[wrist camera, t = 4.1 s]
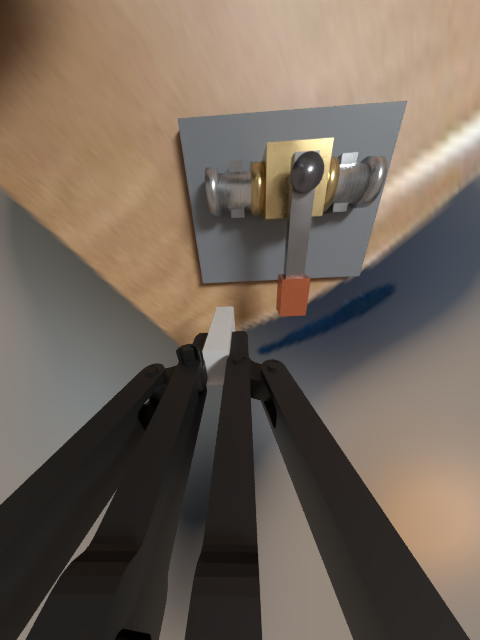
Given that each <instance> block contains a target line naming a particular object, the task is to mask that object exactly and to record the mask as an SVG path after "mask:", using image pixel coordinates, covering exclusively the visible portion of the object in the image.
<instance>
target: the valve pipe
mask: <svg viewBox="0 0 480 640" xmlns="http://www.w3.org/2000/svg"><path fill="white" fill-rule="evenodd" d="M333 141H334V138H322V139H308V140H294V141H280V142H267V144H266V147H265V151H264V154H263V158H262V161H256V162H250V171H243V160H239V161H228V172H223V173H219V172H218V168H217V167H206V168H205V187H206V195H207V202H208V207H209V211H210V214H211V216H212V217H217V216H222V211H231V218H232V219H244V218H245V214H244V210H250V214H251V216H261V221H271V220H287V214H288V199H289V189H288V185H287V180H288V177H289V174H290V170H291V157H292V156H293V154H294V153H295V152H302V151H317V150H320V156H321V157H322V159H323V162H324V174H323V177H322V180H321V181H320V183H319V184H318V186H317V187H316V188H315V194H314V202H313V210H312V217H318V216H322V215H323V212H324V214H330V213H340V212H346V211H347V206H348V204H349V206H350V207H351V208H365V207H368V206H369V205H371V204H372V203H373V202H374V200H375V199H376V198H377V196H378V195H379V193H380V191H381V189H382V187H383V185H384V182H385V179H386V175H387V160H386V158H385V157H384V156H381V155H380V156H368V157H366V158H364V159H363V160H362V161H361V162H360V163H356V162H357V157H358V152H354V153H342V154H341V155H340V156H338V157H336V156H331V154H332V148H333Z"/></svg>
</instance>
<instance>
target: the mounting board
mask: <svg viewBox="0 0 480 640" xmlns="http://www.w3.org/2000/svg"><path fill="white" fill-rule="evenodd" d="M406 104H407V101H397V102H384V103H372V104H359V105H346V106H333V107H320V108H307V109H294V110H282V111H269V112H256V113H243V114H230V115H217V116H205V117H192V118H179V119H178V125H179V131H180V138H181V144H182V151H183V157H184V163H185V170H186V176H187V183H188V189H189V196H190V202H191V209H192V215H193V222H194V228H195V235H196V241H197V248H198V254H199V261H200V267H201V274H202V280H203V283H221V282H242V281H263V280H278V274H283V273H284V259H285V244H286V229H287V220H271V221H261V216H251V214H250V210H244V214H245V218H244V219H232V218H231V211H222V216H217V217H212V216H211V214H210V211H209V207H208V202H207V195H206V187H205V168H206V167H217V168H218V172H219V173H223V172H228V161H239V160H243V171H250V162H256V161H262V158H263V154H264V151H265V147H266V144H267V142H280V141H294V140H308V139H322V138H334V141H333V148H332V154H331V156H336V157H338V156H340V155H341V154H342V153H354V152H358V157H357V162H356V163H360V162H361V161H362V160H363V159H364V158H366V157H368V156H380V155H381V156H384V157H385V158H386V160H387V173H388V170H389V166H390V162H391V159H392V155H393V152H394V148H395V144H396V141H397V137H398V133H399V130H400V126H401V122H402V119H403V115H404V111H405V108H406ZM386 177H387V175H386ZM385 181H386V179H385ZM384 184H385V182H384ZM383 188H384V185H383V187H382V189H381V191H380V193H379V195H378V196H377V198H376V199H375V200H374V202H373V203H372V204H371V205H369V206H368V207H365V208H351V207H350V206H349V204H348V206H347V211H346V212H340V213H330V214H324V212H323V215H322V216H318V217H312V218H311V226H310V234H309V242H308V250H307V258H306V266H305V275H307V276H308V277H310V278H326V277H347V276H359V275H360V272H361V268H362V264H363V261H364V257H365V254H366V250H367V246H368V243H369V239H370V235H371V232H372V228H373V224H374V221H375V217H376V213H377V210H378V206H379V203H380V199H381V195H382V192H383Z"/></svg>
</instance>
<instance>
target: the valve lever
mask: <svg viewBox="0 0 480 640" xmlns="http://www.w3.org/2000/svg"><path fill="white" fill-rule="evenodd" d="M323 174H324V162H323V159H322V157H321V156H320V150H317V151H302V152H295V153H294V154H293V156H292V157H291V170H290V174H289V177H288V180H287V185H288V189H289V199H288V214H287V229H286V244H285V259H284V273H283V274H278V285H277V304H276V309H277V311H278V313H279V315H280V316H299V315H306V308H307V301H308V294H309V287H310V280H311V278H310V277H308V276H307V275H305V266H306V258H307V250H308V242H309V234H310V226H311V218H312V210H313V202H314V194H315V188H316V187H317V186H318V184H319V183H320V181H321V180H322V177H323Z"/></svg>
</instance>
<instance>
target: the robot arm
mask: <svg viewBox="0 0 480 640" xmlns="http://www.w3.org/2000/svg"><path fill="white" fill-rule="evenodd" d="M176 353H177V357H178V360H179V363H178V365H177V366H174V367H170V368H166V369H165V368H164V366H163V365H162V364H152V365H149V366H147V367H145V368H144V369H143V370H142V371H141V372H139V374H137V375H136V376H135V377H134V378H133V379H132V380H131V381H130V382H129V383H128V384H127V385H126V386H125V387H124V388H123V389H122V390H121V391H120V392H118V393H117V394H116V395H115V396H114V398H112V399H111V400H110V401H109V402H108V403H107V404H106V405H105V406H104V407H103V408H102V409H101V410H100V411H99V412H98V413H97V414H95V416H93V417H92V418H91V419H90V420H89V421H88V422H87V423H86V424H85V425H84V426H83V427H82V428H81V429H80V430H79V431H78V432H77V433H75V434H74V435H73V436H72V437H71V438H70V439H69V440H68V441H67V442H66V443H65V444H64V445H63V446H62V447H61V448H60V449H59V450H58V451H57V452H56V453H54V455H52V456H51V457H50V458H49V459H48V460H47V461H46V462H45V463H44V464H43V465H42V466H41V467H40V468H39V469H38V470H37V471H36V472H34V474H33V475H31V476H30V477H29V478H28V479H27V480H26V481H25V482H24V483H23V484H22V485H21V486H20V487H19V488H18V489H17V490H16V491H15V492H14V493H12V495H11V496H9V497H8V498H7V499H6V500H5V501H4V502H3V503H2V504H1V505H0V640H17V638H18V637H19V635H20V634H21V632H22V631H23V629H24V628H25V626H26V625H27V623H28V622H29V620H30V619H31V617H32V616H33V614H34V612H35V611H36V610H37V608H38V607H39V605H40V604H41V602H42V601H43V599H44V598H45V596H46V595H47V593H48V592H49V590H50V589H51V587H52V586H53V584H54V583H55V581H56V580H57V578H58V576H59V575H60V574H61V572H62V571H63V569H64V568H65V566H66V565H67V563H68V562H69V560H70V558H71V557H72V556H73V554H74V553H75V551H76V550H77V548H78V547H79V545H80V543H81V542H82V540H83V539H84V538H85V536H86V535H87V533H88V532H89V530H90V528H91V527H92V526H93V524H94V522H95V521H96V520H97V518H98V517H99V515H100V514H101V512H102V510H103V509H104V507H105V506H106V505H107V503H108V501H109V500H110V499H111V497H112V496H113V494H114V493H115V491H116V490H117V491H116V493H115V495H114V497H113V499H112V501H111V503H110V505H109V507H108V509H107V511H106V514H105V515H104V517H103V519H102V522H101V524H100V526H99V528H98V530H97V532H96V534H95V536H94V538H93V539H92V541H91V543H90V545H89V546H88V547H87V549H86V550H85V551H84V552H83V553H82V554H80V555H79V556H78V557H77V558H76V559H74V560H73V561H72V562H71V563H70V565H69V566H68V567H67V569H66V570H65V571H64V572H63V574H62V575H61V576H60V578H59V579H58V581H57V583H56V584H55V586H54V588H53V589H52V591H51V593H50V595H49V596H48V599H47V600H46V602H45V604H44V606H43V608H42V610H41V611H40V613H39V615H38V617H37V619H36V621H35V623H34V625H33V627H32V628H31V630H30V632H29V634H28V636H27V638H26V640H159V635H160V631H161V625H162V621H163V616H164V611H165V605H166V599H167V589H168V570H169V564H170V559H171V554H172V550H173V545H174V541H175V536H176V532H177V527H178V523H179V518H180V514H181V509H182V504H183V499H184V495H185V491H186V486H187V482H188V477H189V472H190V468H191V463H192V458H193V454H194V449H195V445H196V440H197V436H198V431H199V427H200V422H201V417H202V413H203V408H204V403H205V399H206V395H207V387H206V383H207V380H208V384H209V385H223V393H222V400H221V408H220V416H219V423H218V431H217V439H216V447H215V455H214V462H213V470H212V478H211V486H210V494H209V501H208V509H207V518H206V524H205V533H204V539H203V546H202V550H201V554H200V557H199V559H198V562H197V566H196V571H195V575H194V580H193V587H192V593H191V599H190V606H189V613H188V620H187V627H186V634H185V640H262V626H261V605H260V585H259V564H258V546H257V527H256V526H257V524H256V503H255V482H254V461H253V439H252V416H251V398H254V399H257V400H261V403H262V405H263V408H264V410H265V413H266V415H267V418H268V420H269V423H270V425H271V428H272V431H273V434H274V436H275V439H276V441H277V443H278V446H279V449H280V452H281V454H282V456H283V459H284V462H285V464H286V467H287V470H288V472H289V475H290V477H291V480H292V482H293V485H294V488H295V490H296V493H297V495H298V498H299V500H300V503H301V506H302V508H303V511H304V513H305V516H306V519H307V521H308V524H309V526H310V529H311V531H312V534H313V537H314V539H315V542H316V544H317V547H318V550H319V552H320V555H321V557H322V560H323V562H324V565H325V568H326V570H327V573H328V575H329V578H330V580H331V583H332V585H333V588H334V590H335V593H336V596H337V598H338V601H339V604H340V606H341V609H342V611H343V614H344V616H345V619H346V622H347V624H348V627H349V629H350V632H351V634H352V637H353V640H470V639H469V638H468V636H467V635H466V633H465V632H464V631H463V629H462V627H461V626H460V624H459V623H458V621H457V620H456V618H455V617H454V615H453V614H452V612H451V611H450V610H449V608H448V607H447V605H446V604H445V602H444V601H443V599H442V598H441V596H440V595H439V593H438V592H437V590H436V589H435V587H434V586H433V584H432V583H431V581H430V580H429V578H428V577H427V575H426V574H425V572H424V571H423V570H422V568H421V567H420V565H419V564H418V562H417V561H416V559H415V558H414V556H413V555H412V553H411V552H410V550H409V549H408V547H407V546H406V545H405V543H404V541H403V540H402V538H401V537H400V536H399V534H398V533H397V531H396V530H395V528H394V527H393V525H392V524H391V522H390V521H389V519H388V518H387V516H386V515H385V513H384V512H383V510H382V509H381V507H380V506H379V504H378V503H377V502H376V500H375V498H374V497H373V496H372V494H371V493H370V491H369V490H368V488H367V487H366V485H365V484H364V482H363V481H362V479H361V478H360V476H359V475H358V473H357V472H356V470H355V469H354V467H353V466H352V465H351V463H350V462H349V460H348V459H347V457H346V456H345V454H344V453H343V451H342V450H341V448H340V447H339V445H338V444H337V442H336V441H335V439H334V438H333V436H332V435H331V433H330V432H329V430H328V429H327V427H326V426H325V424H324V423H323V422H322V420H321V419H320V417H319V416H318V414H317V413H316V411H315V410H314V408H313V407H312V405H311V404H310V402H309V401H308V399H307V398H306V396H305V395H304V393H303V392H302V390H301V389H300V388H299V386H298V385H297V383H296V382H295V380H294V379H293V377H292V376H291V374H290V373H289V371H288V370H287V368H286V367H285V365H284V364H283V363H281V362H280V361H278V360H273V359H272V360H267V361H265V362H263V363H262V364H258V363H255V362H253V361H252V360H251V359H250V358H249V354H248V335H247V333H246V332H245V331H235V321H234V307H217V309H216V312H215V315H214V318H213V321H212V324H211V327H210V330H209V333H199V334H198V335H197V336H196V337H195V339H194V342H193V344H186V345H183V346H181V347H179V348H178V349H177V350H176ZM148 399H149V401H148V402H147V403H146V404H144V403H145V402H146V401H147V400H148ZM117 488H118V489H117Z"/></svg>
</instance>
